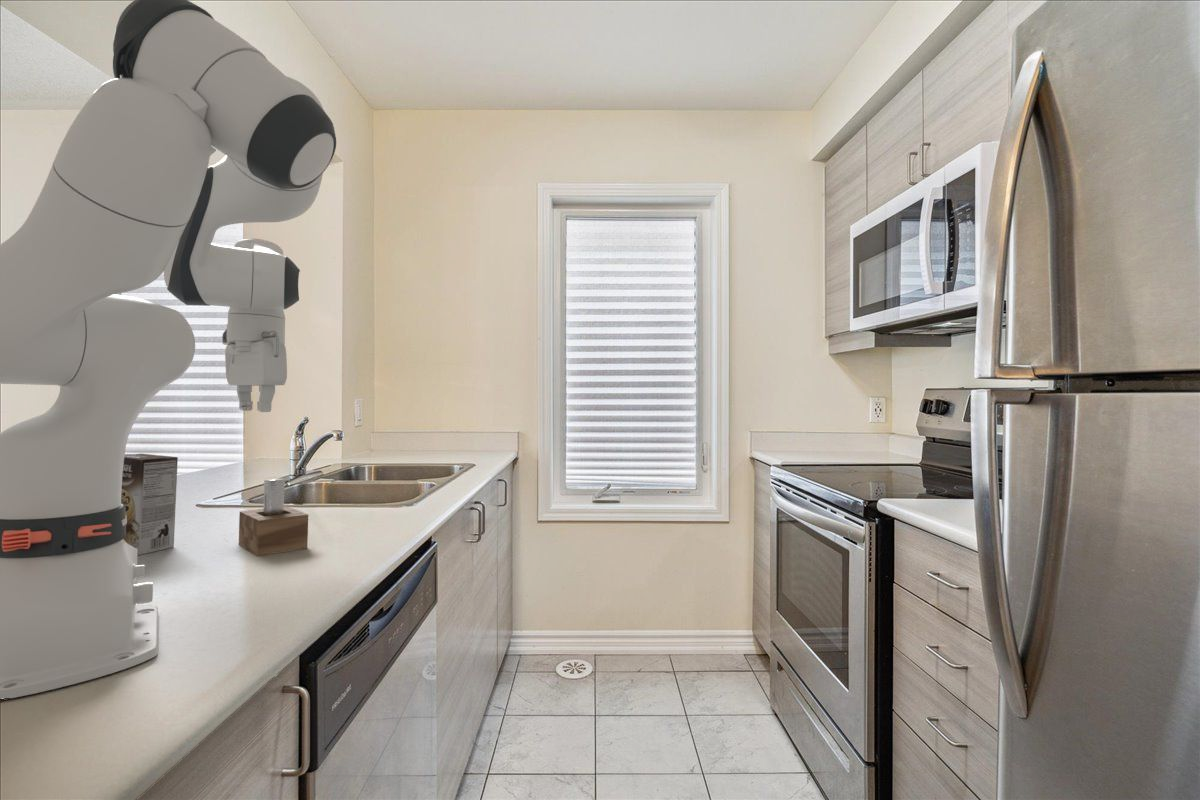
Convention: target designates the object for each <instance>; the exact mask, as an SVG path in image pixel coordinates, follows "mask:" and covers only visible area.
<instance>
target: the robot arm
mask: <svg viewBox="0 0 1200 800" xmlns="http://www.w3.org/2000/svg"><path fill="white" fill-rule="evenodd" d="M115 27H116V28H115V31H114V35H113V43H112V46H113V47H112V52H113V57H112V73H113V77H114V78H113V79H110V80H107V81H106V82H104V83H102V84H101V85H100V86H98V88H97V89H95V91H94V92H93V93H92V95H91V96H90V97H89V99H88V100H86V103H84V105H83V107H82V108H81V109H80V111H79V113H78V114H77V115H76V116H75V118H74V120H73V122H71V123H72V124H71V125H70V126H69V129H68V130H67V132H66V134H65V136H64V137H63V140H62V142H61V143H60V146H59V147H58V150H57V153H56V155H55V157H54V160H53V162H52V165H51V168H50V170H49V173H48V174H47V178H46V180H45V182H44V184H43V186H42V189H41V191H40V193H39V194H38V198H37V199H36V202H35V203H34V205H33V207H32V209H31V211H30V213H29V215H28V217H27V218H26V219H25V221H24V223H23V224H22V225H21V226H20V227H19V228H18V229H17V231H15V233H14V234H12V235H11V236H10V237H8V239H6V240H5V241H3V242H2V243H0V385H2V384H3V385H31V386H32V385H33V386H35V385H36V386H59V387H60V388H59V393H58V396H57V399H56V400H55V402H54V403H53V404H52V406H51V407H50V408H49V409H48V410H46V412H44V413H42V414H40V415H37V416H34V417H32V418H28V419H26V420H23V421H21V422H19V423H16V424H14V425H12V426H10V427H8V428H6V429H4V431H2V432H0V699H2V698H10V699H14V698H18V697H20V698H21V697H24V696H30V695H34V694H38V693H43V692H47V691H50V690H51V691H52V690H56V689H59V688H63V687H64V688H65V687H67V686H71V685H76V684H80V683H83V682H87V681H90V680H95V679H97V678H101V677H103V676H104V677H105V676H107V675H110V674H114V673H116V672H119V671H123V670H126V669H130V668H132V667H134V666H137V665H140V664H142V663H144V662H146V661H148V660H151V659H153V658H155V657H157V655H158V653H159V609H158V606H157V605H154V604H149V603H152V602H153V598H154V597H153V595H154V582H153V581H145V582H139V583H137V578H142V577H146V564H138V555H137V549H136V548H133V546H131V545H129V544H127V543H126V542H125V541H124V538H125V537H126V524H127V516H126V513H125V505H123V504H122V503H121V491H122V475H123V465H124V456H125V454H126V447H127V444H128V443H127V442H128V440H129V436H130V434H131V431H132V428H133V426H134V423H135V422H136V419H137V418H138V417H139V415H140V413H141V412H142V410H143V409H144V408H145V407H146V405H147V404H148V403H149V402H150V400H151V399H152V398H154V397H155V395H156V394H158V393H159V392H160V391H161V390H162V389H164V388H165V387H167V386H168V385H170V384H171V383H173V382H175V381H177V380H178V379H180V378H181V377H182V376H183V375H184V374H185V372H186V371H187V370H188V369H189V368H190V366H191V364H192V362H193V360H194V357H195V352H196V339H195V335H194V332H193V330H192V327H191V325H190V324H189V322H188V320H187V319H186V318H185V316H184V315H183V314H182V313H181V312H180V311H178V310H176V309H173V308H170V307H168V306H165V305H162V304H159V303H156V302H152V301H149V300H147V299H146V300H145V299H143V298H139V297H136V296H128V295H123V294H122V293H127V292H132V291H135V290H138V289H141V288H143V287H146V286H148V285H150V284H151V283H153V282H154V281H156V280H157V279H158V278H159V277H160V276H161V275H162V274H163V280H164V283H165V286H166V289H167V291H168V292H169V293H170V294H171V295H173V296H174V298H176V299H178V300H179V301H180V302H182V303H183V304H185V306H186V305H187V306H207V307H208V306H217V307H228V308H229V309H228V311H227V324H226V328H225V329H224V331H223V333H222V335H221V336H222V337H221V343H222V345H224V346H225V351H224V360H225V361H224V363H225V364H224V365H225V377H226V382H227V383H228V385H229V386H236V394H237V398H238V403H239V404H238V405H239V406H238V410H239V411H243V412H246V411H247V412H250V411H252V410H253V408H254V407H253V404H254V403H253V400H252V392H253V387H256V386H258V392H259V396H258V397H259V398H258V401H257V403H256V406H257V408H256V411H257V412H258V413H269V412H271V411H272V402H273V399H274V397H275V393H276V386H285V384H286V383H287V380H288V363H287V362H288V361H287V349H286V345H285V344H286V315H285V312H284V310H286V309H289V308H290V307H292V306H293V305H294V304H296V303H298V302H299V301H300V294H299V276H300V271H301V270H300V268H299V267H298V266H297V265H296V264H295V262H294V261H293V260H291V259H290V258H289V257H288V256H286V255H284V251H283V249H282V248H281V246H279V245H278V244H277V243H274V242H273V241H269V240H265V239H260V238H243V239H240V240H238V241H236V243H235V244H234V246H230V245H229V246H228V245H221V244H216V243H213V241H214V237H215V235H216V233H217V231H218V230H219V229H221V228H223V227H226V226H230V225H235V224H236V225H237V224H248V223H249V224H250V223H280V222H287V221H290V220H292V219H295V218H298V217H300V216H302V215H303V214H304V213H306V212H307V211H308V210H309V209H310V208H312V205H313V204H314V202H315V200H316V198H317V196H318V194H319V191H320V188H321V184H322V179H323V176H324V175H323V174H324V172H325V171H326V170H327V168H328V167H329V165H330V164H331V162H332V160H333V157H334V155H335V153H336V149H337V137H336V132H335V127H334V123H333V121H332V120H331V118H330V117H329V115H328V114H327V112H326V111H325V109H324V107H323V105H322V102H321V101H320V100H319V98H318V96H316V95H315V93H314V92H313V90H311V89H310V88H309V87H307V86H306V85H305V84H303V83H302V82H300V81H298V80H296V79H295V78H292V77H290V76H288V75H285V74H284V73H283V72H282V71H281V70H280V69H279V68H277V66H275V65H274V64H273V63H272V62H270V61H269V60H268V59H267V57H266V56H265V55H264V54H263V53H262V52H261V51H260V50H258V48H256V47H255V46H253V45H252V44H251V43H250V42H248V41H247V40H245V39H244V38H242V37H241V36H240V35H238V34H237V33H236V32H234V31H232V30H231V29H229V28H228V27H226V26H225V25H223V24H222V23H220V22H219V21H217V20H215V18H214V17H213V16H212V14H210V12H208V11H207V10H206V9H204V8H202V7H201V6H199V5H197V4H195V3H194V2H191V1H190V0H133V1H132V2H130V3H129V4H128V5H127V6H126V7H125V9H124V10H123V11H122V12H121V14H120V16H119V18H118V21H117V23H116V26H115ZM216 151H219V152H221V153H222V154H223V155H225V156H224V157H223V158H222V159H221V160H220V161H219V162H217V163H216V164H214V165H210V166H209V163H210V157H211V156H212V155H213V154H214V153H216ZM121 294H122V295H121Z"/></svg>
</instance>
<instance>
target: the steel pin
mask: <svg viewBox="0 0 1200 800" xmlns="http://www.w3.org/2000/svg"><path fill="white" fill-rule="evenodd" d="M263 480H264V482H263V486H264V487H263V507H262V509H263V516H264V517H266V516H274V515H283V514H284V506H285V480H286V479H284V478H267V479H263Z"/></svg>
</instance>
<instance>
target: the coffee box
mask: <svg viewBox="0 0 1200 800" xmlns="http://www.w3.org/2000/svg"><path fill="white" fill-rule="evenodd" d="M178 459H179V458H178V457H177V456H169V455H162V454H159V455H158V454H150V453H133V454H131V453H130V454H128V453H125V456H124V465H123V475H122V491H121V503H122V504H123V505H125V513H126V516H127V524H126V537H125V538H124V541H125V542H126V543H127V544H129V545H131V546H133V548H136V549H137V556H141V555H145V554H150V553H155V552H158V551H163V550H167V549H172V548H174V547H175V529H176V527H175V526H176V504H177V481H178V480H177V478H178Z"/></svg>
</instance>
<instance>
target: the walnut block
mask: <svg viewBox="0 0 1200 800" xmlns="http://www.w3.org/2000/svg"><path fill="white" fill-rule="evenodd" d="M238 517H239V520H238V521H239V522H238V545H239V546H240V545H241V546H240V547H242V548H244V549H245V550H247V551H249V552H250V553H252V554H254V555H256V556H257V557H260V556H266V555H272V554H278V553H285V552H289V551H294V550H295V551H296V550H301V549H308V540H309V539H308V538H309V537H308V535H309V533H308V532H309V514H308V513H306V512H303V511H300V510H298V509H295V508H293V507H290V506H287V505H286V506H285V505H284V514H283V515H274V516H266V517H264V516H263V508H262V509H261V508H260V509H251V510H250V509H248V510H241V511H239V515H238Z"/></svg>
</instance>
